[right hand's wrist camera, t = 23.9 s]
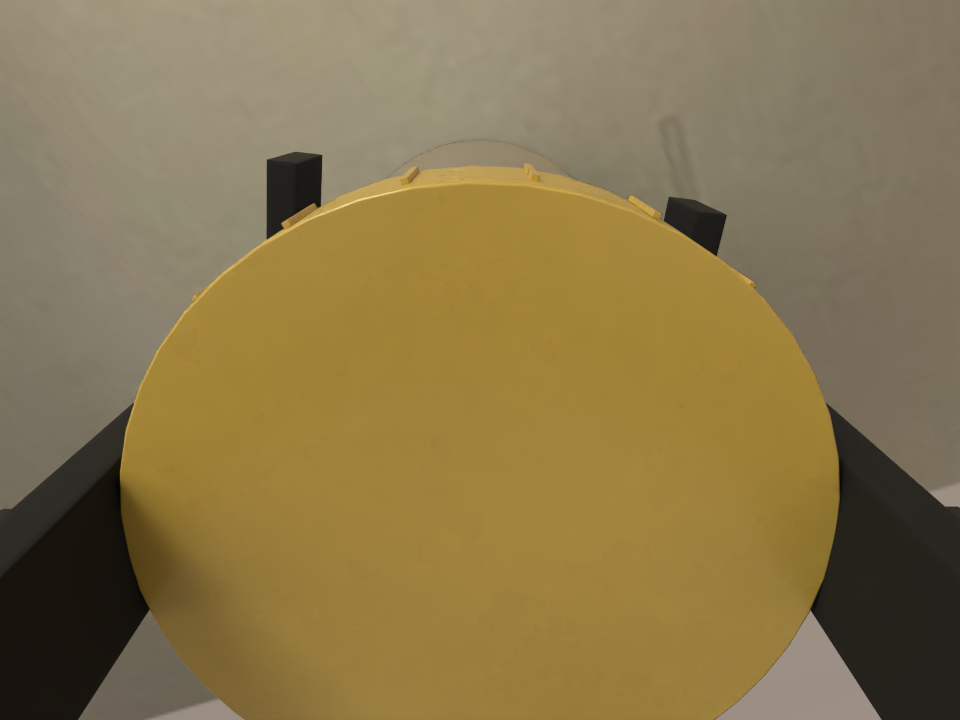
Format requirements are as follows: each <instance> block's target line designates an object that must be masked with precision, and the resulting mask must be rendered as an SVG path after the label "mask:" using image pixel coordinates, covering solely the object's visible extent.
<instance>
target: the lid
mask: <svg viewBox="0 0 960 720" xmlns="http://www.w3.org/2000/svg"><path fill="white" fill-rule="evenodd" d="M661 215H662V214H661V213H660V212H658V211H656V210H655V209H653V208H652V207H650V206H648V205H647V204H645V203H644V202H642V201H640V200H639V199H637V198H635V197H633V196H630V197H629V199H628V200H626V199H624V198H622V197H619V196H617V195H615V194H613V193H611V192H609V191H607V190H605V189H602V188H599V187H596V186H593V185H589V184H586V183H583V182H580V181H577V180H574V179H571V178H568V177H565V176H561V175H556V174H550V173H545V172H539V171H536V170H535V169H534V167H533V166H532V165H531V164H527V163H524V168H523V169H522V168H514V167H491V166H462V167H452V168H441V169H430V170H423V171H419V167H418V166H415V167H411V168H410V169H409V170H408V171H407V172H406V173H405V174H404V175H402V176H397V177H393V178H389V179H384V180H380V181H378V182H375V183H373V184H370V185H367V186H365V187H362V188H360V189H357V190H354V191H352V192H349V193H347V194H344V195H341V196H339V197H337V198H335V199H333V200H332V201H330V202H328V203H326V204H324V205H323V206H321V207H319V208H317V207H316V205H315V204H314V203H313V204H312V205H310V206H308V207H307V208H305V209H303V210H302V211H300V212H299V213H297V214H295V215H294V216H292V217H291V218H289V219H287V220H286V221H284V222H282V223H281V224H282V226H283V227H284V229H283V230H281V231H280V232H278V233H276V234H275V235H273V236H272V237H270V238H269V239H267V240H266V241H264V242H263V243H261V244H260V245H258V246H257V247H256V248H255V249H253V250H252V251H251V252H249V253H248V254H247V255H245V256H244V257H243V258H241V259H240V260H239V261H237V262H236V263H235V264H234V265H232V266H231V267H230V268H228V269H227V270H226V271H224V272H223V273H222V274H220V275H219V276H218V277H217V278H216V279H215V280H214V281H213V282H212V284H211V285H209V286H208V287H206V288H205V289H204V290H202V291H201V292H199V293H198V294H196V295H195V296H194V298H193V299H192V301H194V302H193V303H192V304H191V305H190V306H189V307H188V308H187V309H186V310H185V312H184V313H183V315H182V316H181V317H180V319H179V320H178V322H177V323H176V324H175V326H174V327H173V329H172V330H171V332H170V333H169V334H168V336H167V337H166V339H165V340H164V341H163V343H162V344H161V346H160V347H159V349H158V350H157V352H156V354H155V357H154V359H153V361H152V363H151V365H150V367H149V369H148V371H147V373H146V375H145V377H144V379H143V381H142V383H141V385H140V387H139V389H138V392H137V395H136V399H135V402H134V405H133V409H132V412H131V415H130V418H129V422H128V425H127V428H126V432H125V440H124V447H123V454H122V461H121V469H120V503H121V518H122V523H123V527H124V532H125V537H126V541H127V546H128V551H129V555H130V559H131V563H132V567H133V571H134V574H135V577H136V579H137V582H138V585H139V588H140V591H141V593H142V595H143V597H144V599H145V601H146V603H147V605H148V607H149V609H150V611H151V613H152V615H153V617H154V619H155V621H156V623H157V625H158V626H159V628H160V629H161V631H162V632H163V634H164V635H165V637H166V638H167V640H168V641H169V643H170V644H171V646H172V647H173V649H174V650H175V651H176V653H177V654H178V656H179V657H180V658H181V660H182V661H183V662H184V663H185V664H186V665H187V666H188V667H189V669H190V670H191V671H192V672H193V673H194V674H195V675H196V676H197V678H198V679H199V680H200V681H201V682H202V683H203V684H204V686H205V687H207V688H208V689H209V690H210V691H211V692H212V693H213V694H214V695H216V696H217V697H218V698H219V699H220V700H221V701H222V702H223V703H225V704H226V705H227V706H228V707H229V708H230V709H231V710H232V711H234V712H235V713H236V714H238V715H239V716H241V717H242V718H243V719H245V720H715V719H716V718H717V717H719V716H720V715H721V714H723V713H724V712H725V711H727V710H728V709H729V708H731V707H732V706H733V705H734V704H736V703H737V702H738V701H739V700H740V699H741V698H742V697H743V696H744V695H745V694H746V693H747V692H748V691H749V690H750V689H751V688H752V687H753V686H755V685H756V684H757V683H758V682H759V681H760V680H761V679H762V678H763V677H764V676H765V675H766V673H767V672H768V671H769V670H770V668H771V667H772V666H773V665H774V663H775V662H776V661H777V660H778V658H779V657H780V656H781V655H782V653H783V652H784V651H785V650H786V649H787V647H788V646H789V645H790V643H791V641H792V640H793V638H794V636H795V635H796V633H797V632H798V630H799V628H800V627H801V625H802V623H803V622H804V620H805V619H806V617H807V615H808V614H809V612H810V610H811V607H812V605H813V603H814V600H815V598H816V596H817V594H818V591H819V589H820V587H821V584H822V582H823V580H824V577H825V573H826V569H827V565H828V561H829V556H830V552H831V548H832V544H833V539H834V535H835V530H836V525H837V520H838V513H839V504H840V481H839V457H838V452H837V447H836V442H835V437H834V431H833V426H832V421H831V416H830V413H829V410H828V408H827V405H826V402H825V400H824V397H823V394H822V392H821V389H820V386H819V384H818V381H817V378H816V376H815V373H814V371H813V370H812V368H811V366H810V364H809V363H808V361H807V359H806V357H805V356H804V354H803V352H802V350H801V349H800V347H799V345H798V343H797V341H796V340H795V338H794V336H793V334H792V333H791V332H790V331H789V329H788V328H787V327H786V326H785V324H784V323H783V322H782V321H781V319H780V318H779V317H778V316H777V314H776V313H775V312H774V311H773V309H772V308H771V307H770V305H769V304H768V303H767V302H766V300H765V299H764V298H763V297H762V296H761V295H760V294H759V293H758V292H757V291H756V290H755V289H754V288H756V285H755V284H754V283H753V282H752V281H751V280H749V279H748V278H746V277H745V276H743V275H742V274H740V273H739V272H737V271H736V270H734V269H733V268H731V267H730V266H729V265H728V264H726V263H725V262H724V261H722V260H721V259H719V258H718V257H716V256H715V255H713V254H712V253H710V252H709V251H708V250H706V249H705V248H703V247H702V246H700V245H699V244H697V243H696V242H694V241H693V240H691V239H690V238H688V237H687V236H686V235H684V234H683V233H681V232H679V231H678V230H676V229H675V228H673V227H672V226H670V225H669V224H667V223H666V222H664V221H663V220H661V219H660V217H661Z"/></svg>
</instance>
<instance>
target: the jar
mask: <svg viewBox="0 0 960 720" xmlns="http://www.w3.org/2000/svg"><path fill="white" fill-rule="evenodd" d="M524 163H527V164H531V165H532V166H533V167H534V169H535V170H536V171H539V172H545V173H550V174H556V175H561V176H565V177H568V178H571V179H573V178H572V177H571V176H570V175H569V174H567V173H566V172H565V171H564V170H563V169H561V168H560V167H559V166H558V165H556V164H555V163H553V162H551V161H550V160H548V159H547V158H545V157H544V156H542V155H539V154H537V153H535V152H533V151H531V150H528V149H526V148H523V147H519V146H516V145H513V144H509V143H503V142H497V141H482V140H472V141H463V142H455V143H451V144H447V145H444V146H440V147H436V148H434V149H432V150H429V151H427V152H425V153H422V154H420V155H418V156H416V157H415V158H413V159H411V160H410V161H408V162H406V163H405V164H403V165H402V166H401V167H400V168H398V169H397V170H396V171H395V172H393V173H392V174H391V175H390V176H388V177H387V178H386V179H389V178H393V177H397V176H402V175H404V174H405V173H406V172H407V171H408V170H409V169H410V168H411V167H415V166H418V167H419V171H423V170H430V169H441V168H452V167H462V166H491V167H514V168H522V169H523V168H524ZM574 180H575V179H574Z"/></svg>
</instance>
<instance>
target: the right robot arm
mask: <svg viewBox="0 0 960 720" xmlns="http://www.w3.org/2000/svg"><path fill="white" fill-rule="evenodd" d="M133 405H134V403H133V404H132V405H130V406H129V407H128V408H127V409H126V410H125V411H124V412H122V413H121V414H120V415H119V416H118V417H117V418H116V419H114V420H113V421H112V422H111V423H110V424H109V425H108V426H106V427H105V428H104V429H103V430H102V431H101V432H100V433H98V434H97V435H96V436H95V437H94V438H93V439H92V440H90V441H89V442H88V443H87V444H86V445H85V446H84V447H82V448H81V449H80V450H79V451H78V452H77V453H76V454H74V455H73V456H72V457H71V458H70V459H69V460H67V461H66V462H65V463H64V464H63V465H62V466H61V467H59V468H58V469H57V470H56V471H55V472H54V473H53V474H51V475H50V476H49V477H48V478H47V479H46V480H45V481H43V482H42V483H41V484H40V485H39V486H38V487H37V488H35V489H34V490H33V491H32V492H31V493H30V494H29V495H27V496H26V497H25V498H24V499H23V500H22V501H21V502H19V503H18V504H17V505H16V506H15V507H14V508H13V509H2V510H0V720H78V719H79V717H80V716H81V714H82V713H83V711H84V709H85V708H86V706H87V705H88V703H89V702H90V700H91V699H92V697H93V696H94V694H95V693H96V691H97V689H98V688H99V686H100V685H101V683H102V682H103V680H104V679H105V677H106V676H107V674H108V672H109V671H110V669H111V668H112V666H113V665H114V663H115V662H116V660H117V659H118V657H119V656H120V654H121V652H122V651H123V649H124V648H125V646H126V645H127V643H128V642H129V640H130V639H131V637H132V636H133V634H134V632H135V631H136V629H137V628H138V626H139V625H140V623H141V622H142V620H143V619H144V617H145V615H146V614H147V612H148V611H149V607H148V605H147V603H146V601H145V599H144V597H143V595H142V593H141V591H140V588H139V585H138V582H137V579H136V577H135V574H134V571H133V567H132V563H131V559H130V555H129V551H128V546H127V541H126V537H125V532H124V527H123V523H122V518H121V503H120V469H121V461H122V454H123V447H124V440H125V432H126V428H127V425H128V422H129V418H130V415H131V412H132V409H133ZM826 405H827V408H828V410H829V413H830V416H831V421H832V426H833V431H834V437H835V442H836V447H837V452H838V457H839V481H840V504H839V513H838V520H837V525H836V530H835V535H834V539H833V544H832V548H831V552H830V556H829V561H828V565H827V569H826V573H825V577H824V580H823V582H822V584H821V587H820V589H819V591H818V594H817V596H816V598H815V600H814V603H813V605H812V607H811V611H812V613H813V615H814V616H815V618H816V619H817V621H818V622H819V624H820V625H821V627H822V628H823V630H824V631H825V633H826V635H827V636H828V638H829V639H830V641H831V642H832V644H833V645H834V647H835V648H836V650H837V652H838V653H839V655H840V656H841V658H842V659H843V661H844V662H845V664H846V665H847V667H848V668H849V670H850V672H851V673H852V675H853V676H854V678H855V679H856V681H857V682H858V684H859V685H860V687H861V689H862V690H863V692H864V693H865V695H866V696H867V698H868V699H869V701H870V702H871V704H872V706H873V707H874V708H875V710H876V712H877V713H878V715H879V716H880V718H881V719H882V720H960V508H959V507H945V506H944V505H942V504H941V503H940V502H939V501H938V500H937V499H936V498H934V497H933V496H932V495H931V494H930V493H929V492H928V491H926V490H925V489H924V488H923V487H922V486H921V485H920V484H918V483H917V482H916V481H915V480H914V479H913V478H912V477H910V476H909V475H908V474H907V473H906V472H905V471H904V470H902V469H901V468H900V467H899V466H898V465H897V464H895V463H894V462H893V461H892V460H891V459H890V458H889V457H887V456H886V455H885V454H884V453H883V452H882V451H881V450H879V449H878V448H877V447H876V446H875V445H874V444H873V443H871V442H870V441H869V440H868V439H867V438H866V437H865V436H863V435H862V434H861V433H860V432H859V431H858V430H857V429H855V428H854V427H853V426H852V425H851V424H850V423H849V422H847V421H846V420H845V419H844V418H843V417H842V416H841V415H839V414H838V413H837V412H836V411H835V410H834V409H833V408H831V407H830V406H829V405H828V404H827V403H826Z"/></svg>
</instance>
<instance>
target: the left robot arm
mask: <svg viewBox="0 0 960 720" xmlns="http://www.w3.org/2000/svg"><path fill="white" fill-rule="evenodd" d="M321 179H322V155H318V154H309V153H301V152H293V153H289V154H286V155H282V156H279V157H275V158H271V159H268V160H267V239H269V238H270V237H272V236H273V235H275V234H276V233H278V232H280V231H281V230H283V229H284V227H283V226H282V224H281V223H282V222H284V221H286V220H287V219H289V218H291V217H292V216H294V215H295V214H297V213H299V212H300V211H302V210H303V209H305V208H307V207H308V206H310V205H312V204H313V203H314V204H315V205H316V207H317V208H319V207H321ZM726 216H727V215H726V214H723V213H721V212H719V211H717V210H715V209H713V208H711V207H708V206H706V205H704V204H702V203H700V202H698V201H695V200H690V199H681V198H673V197H669V199H668V204H667V208H666V213H665V218H664V222H666V223H667V224H669V225H670V226H672V227H673V228H675V229H676V230H678V231H679V232H681V233H683V234H684V235H686V236H687V237H688V238H690V239H691V240H693V241H694V242H696V243H697V244H699V245H700V246H702V247H703V248H705V249H706V250H708V251H709V252H710V253H712V254H713V255H715V256H716V257H717V253H718V248H719V244H720V240H721V236H722V232H723V228H724V224H725V220H726Z"/></svg>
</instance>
